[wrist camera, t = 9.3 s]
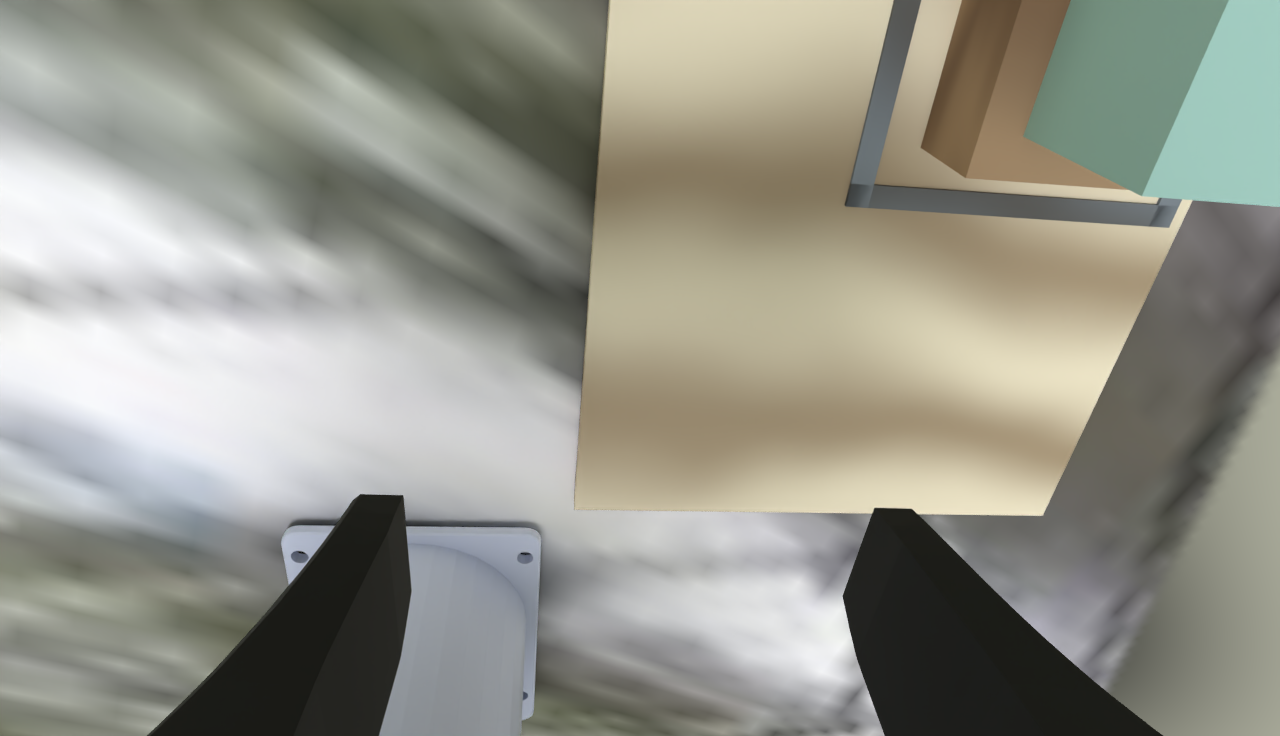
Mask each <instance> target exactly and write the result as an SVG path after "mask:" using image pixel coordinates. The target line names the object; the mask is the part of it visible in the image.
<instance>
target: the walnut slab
mask: <svg viewBox="0 0 1280 736" xmlns="http://www.w3.org/2000/svg"><path fill="white" fill-rule="evenodd" d="M1070 1H1071V0H962V2H961V5H960V9H959V13H958V16H957V20H956V23H955V27H954V30H953V34H952V37H951V41H950V45H949V48H948V52H947V55H946V59H945V62H944V66H943V69H942V73H941V77H940V80H939V84H938V87H937V91H936V94H935V98H934V102H933V105H932V109H931V112H930V116H929V119H928V123H927V126H926V130H925V134H924V137H923V141H922V144H921V148H922V149H923V150H925V151H926V152H927V153H929V154H930V155H932V156H933V157H935V158H936V159H938V160H939V161H941V162H942V163H944V164H945V165H947V166H948V167H950V168H951V169H953V170H954V171H956V172H957V173H959V174H960V175H962V176H963V177H964V178H969V179H983V180H997V181H1011V182H1024V183H1038V184H1052V185H1066V186H1080V187H1093V188H1107V189H1121V190H1128V189H1126V188H1124V187H1122V186H1120V185H1118V184H1116V183H1114V182H1112V181H1110V180H1108V179H1106V178H1104V177H1102V176H1100V175H1098V174H1096V173H1094V172H1092V171H1091V170H1089V169H1087V168H1085V167H1083V166H1081V165H1079V164H1077V163H1075V162H1073V161H1071V160H1069V159H1067V158H1065V157H1063V156H1061V155H1059V154H1057V153H1055V152H1053V151H1051V150H1049V149H1047V148H1045V147H1043V146H1041V145H1039V144H1037V143H1035V142H1033V141H1031V140H1029V139H1027V138H1025V137H1023V135H1024V132H1025V130H1026V127H1027V124H1028V121H1029V118H1030V115H1031V112H1032V110H1033V107H1034V104H1035V101H1036V98H1037V95H1038V92H1039V90H1040V87H1041V84H1042V81H1043V78H1044V75H1045V72H1046V70H1047V67H1048V64H1049V61H1050V58H1051V55H1052V52H1053V50H1054V47H1055V44H1056V41H1057V38H1058V35H1059V32H1060V30H1061V27H1062V24H1063V21H1064V18H1065V15H1066V12H1067V10H1068V7H1069V4H1070Z"/></svg>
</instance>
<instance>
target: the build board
mask: <svg viewBox="0 0 1280 736" xmlns="http://www.w3.org/2000/svg"><path fill="white" fill-rule="evenodd" d="M961 2H962V0H609V6H608V21H607V35H606V49H605V64H604V78H603V92H602V107H601V121H600V135H599V150H598V164H597V179H596V193H595V207H594V222H593V236H592V250H591V265H590V279H589V293H588V308H587V322H586V336H585V351H584V365H583V379H582V394H581V408H580V422H579V437H578V451H577V465H576V480H575V494H574V510H638V511H718V512H797V513H873V510H874V508H907V509H913V510H914V511H915V512H916V513H917V514H956V515H1036V516H1043V513H1044V511H1045V509H1046V507H1047V505H1048V503H1049V501H1050V499H1051V497H1052V495H1053V492H1054V490H1055V488H1056V486H1057V484H1058V482H1059V480H1060V478H1061V476H1062V474H1063V471H1064V469H1065V467H1066V465H1067V463H1068V461H1069V459H1070V457H1071V455H1072V453H1073V450H1074V448H1075V446H1076V444H1077V442H1078V440H1079V438H1080V436H1081V434H1082V432H1083V429H1084V427H1085V425H1086V423H1087V421H1088V419H1089V417H1090V415H1091V413H1092V411H1093V408H1094V406H1095V404H1096V402H1097V400H1098V398H1099V396H1100V394H1101V392H1102V390H1103V387H1104V385H1105V383H1106V381H1107V379H1108V377H1109V375H1110V373H1111V371H1112V369H1113V366H1114V364H1115V362H1116V360H1117V358H1118V356H1119V354H1120V352H1121V350H1122V347H1123V345H1124V343H1125V341H1126V339H1127V337H1128V335H1129V333H1130V331H1131V329H1132V326H1133V324H1134V322H1135V320H1136V318H1137V316H1138V314H1139V312H1140V310H1141V308H1142V305H1143V303H1144V301H1145V299H1146V297H1147V295H1148V293H1149V291H1150V289H1151V287H1152V284H1153V282H1154V280H1155V278H1156V276H1157V274H1158V272H1159V270H1160V268H1161V266H1162V263H1163V261H1164V259H1165V257H1166V255H1167V253H1168V251H1169V249H1170V247H1171V245H1172V242H1173V240H1174V238H1175V236H1176V234H1177V232H1178V230H1179V228H1180V226H1181V224H1182V221H1183V219H1184V217H1185V215H1186V213H1187V211H1188V209H1189V207H1190V205H1191V203H1192V200H1184V199H1171V198H1158V197H1145V196H1140V195H1138V194H1136V193H1134V192H1132V191H1130V190H1121V189H1107V188H1093V187H1080V186H1066V185H1052V184H1038V183H1024V182H1011V181H997V180H983V179H969V178H964V177H963V176H962V175H960V174H959V173H957V172H956V171H954V170H953V169H951V168H950V167H948V166H947V165H945V164H944V163H942V162H941V161H939V160H938V159H936V158H935V157H933V156H932V155H930V154H929V153H927V152H926V151H925V150H923V149H922V148H921V144H922V141H923V137H924V134H925V130H926V126H927V123H928V119H929V116H930V112H931V109H932V105H933V102H934V98H935V94H936V91H937V87H938V84H939V80H940V77H941V73H942V69H943V66H944V62H945V59H946V55H947V52H948V48H949V45H950V41H951V37H952V34H953V30H954V27H955V23H956V20H957V16H958V13H959V9H960V5H961Z"/></svg>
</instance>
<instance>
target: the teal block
mask: <svg viewBox="0 0 1280 736" xmlns="http://www.w3.org/2000/svg"><path fill="white" fill-rule="evenodd" d="M1023 137H1025V138H1027V139H1029V140H1031V141H1033V142H1035V143H1037V144H1039V145H1041V146H1043V147H1045V148H1047V149H1049V150H1051V151H1053V152H1055V153H1057V154H1059V155H1061V156H1063V157H1065V158H1067V159H1069V160H1071V161H1073V162H1075V163H1077V164H1079V165H1081V166H1083V167H1085V168H1087V169H1089V170H1091V171H1092V172H1094V173H1096V174H1098V175H1100V176H1102V177H1104V178H1106V179H1108V180H1110V181H1112V182H1114V183H1116V184H1118V185H1120V186H1122V187H1124V188H1126V189H1128V190H1130V191H1132V192H1134V193H1136V194H1138V195H1140V196H1145V197H1158V198H1171V199H1184V200H1197V201H1211V202H1224V203H1237V204H1250V205H1263V206H1276V207H1280V0H1071V1H1070V4H1069V7H1068V10H1067V12H1066V15H1065V18H1064V21H1063V24H1062V27H1061V30H1060V32H1059V35H1058V38H1057V41H1056V44H1055V47H1054V50H1053V52H1052V55H1051V58H1050V61H1049V64H1048V67H1047V70H1046V72H1045V75H1044V78H1043V81H1042V84H1041V87H1040V90H1039V92H1038V95H1037V98H1036V101H1035V104H1034V107H1033V110H1032V112H1031V115H1030V118H1029V121H1028V124H1027V127H1026V130H1025V132H1024V135H1023Z"/></svg>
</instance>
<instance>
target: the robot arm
mask: <svg viewBox="0 0 1280 736" xmlns="http://www.w3.org/2000/svg"><path fill="white" fill-rule="evenodd" d="M281 546H282V551H283V557H284V562H285V567H286V573H287V578H288V584H289V586H288V587H287V588H286V590H285V591H284V592H283V593H282V594H281V596H280V597H279V598H278V599H277V600H276V602H275V603H274V604H273V605H272V607H271V608H270V609H269V610H268V611H267V612H266V614H265V615H264V616H263V617H262V618H261V619H260V620H259V622H258V623H257V624H256V625H255V626H254V627H253V628H252V629H251V630H250V631H249V633H248V634H247V635H246V636H245V637H244V638H243V639H242V640H241V641H240V642H239V644H238V645H237V646H236V647H235V648H234V649H233V650H232V651H231V652H230V653H229V655H228V656H227V657H226V658H225V659H224V660H223V661H222V662H221V663H220V664H219V665H218V667H217V668H216V669H215V670H214V671H213V672H212V673H211V674H210V675H209V676H208V677H207V678H206V679H205V680H204V681H203V682H202V683H201V684H200V685H199V686H198V687H197V688H196V689H195V690H194V691H193V692H192V693H191V694H190V695H189V696H188V697H187V698H186V699H185V700H184V701H183V702H182V703H181V704H180V705H179V706H178V707H177V708H176V709H175V710H174V711H173V712H172V713H170V714H169V715H168V716H167V717H166V718H165V719H164V720H163V721H162V722H161V723H160V724H159V725H158V726H157V727H156V728H155V729H154V730H153V731H152V732H150V733H149V734H148V735H147V736H521V726H522V720H525V719H528V718H530V717H531V716H532V715H533V712H534V696H535V673H536V649H537V626H538V603H539V580H540V557H541V536H540V534H539V533H538V532H537V531H536V530H534V529H532V528H519V527H414V526H406V521H405V509H404V498H403V495H365V494H360V495H359V496H358V497H356V498H355V499H354V500H353V501H352V502H351V504H350V505H349V507H348V508H347V510H346V511H345V513H344V514H343V516H342V517H341V518H340V520H339V521H338V522H337V524H336V525H335V526H309V525H298V526H292V527H290V528H288V529H287V530H286V531H285V533H284V535H283V537H282V540H281ZM297 551H302V552H305V553H306V554H300V553H298V552H297ZM523 552H528V553H530V554H529V555H521V554H520V553H523ZM843 600H844V604H845V609H846V614H847V618H848V623H849V628H850V632H851V636H852V640H853V644H854V648H855V653H856V657H857V660H858V663H859V666H860V669H861V671H862V674H863V677H864V680H865V683H866V685H867V688H868V691H869V694H870V696H871V699H872V702H873V705H874V707H875V710H876V713H877V716H878V718H879V721H880V724H881V726H882V729H883V732H884V734H885V736H1163V735H1161V734H1160V733H1159V732H1157V731H1156V730H1155V729H1153V728H1152V727H1151V726H1149V725H1148V724H1147V723H1146V722H1144V721H1143V720H1142V719H1140V718H1139V717H1138V716H1137V715H1135V714H1134V713H1133V712H1132V711H1130V710H1129V709H1128V708H1127V707H1125V706H1124V705H1123V704H1121V703H1120V702H1119V701H1118V700H1116V699H1115V698H1114V697H1112V696H1111V695H1110V694H1109V693H1108V692H1106V691H1105V690H1104V689H1103V688H1101V687H1100V686H1099V685H1098V684H1097V683H1095V682H1094V681H1093V680H1092V679H1091V678H1089V677H1088V676H1087V675H1086V674H1085V673H1084V672H1082V671H1081V670H1080V669H1079V668H1078V667H1077V666H1076V665H1074V664H1073V663H1072V662H1071V661H1070V660H1069V659H1068V658H1066V657H1065V656H1064V655H1063V654H1062V653H1061V652H1060V651H1059V650H1057V649H1056V648H1055V647H1054V646H1053V645H1052V644H1051V643H1049V642H1048V641H1047V640H1046V639H1045V638H1044V637H1043V636H1042V635H1041V634H1040V633H1038V632H1037V631H1036V630H1035V629H1034V628H1033V627H1032V626H1031V625H1030V624H1029V623H1028V622H1027V621H1026V620H1024V619H1023V618H1022V617H1021V616H1020V615H1019V614H1018V613H1017V612H1016V611H1015V610H1014V609H1013V608H1012V607H1011V606H1010V605H1009V604H1008V603H1007V602H1006V601H1005V600H1004V599H1003V598H1001V597H1000V596H999V595H998V594H997V593H996V592H995V591H994V590H993V589H992V588H991V587H990V586H989V585H988V584H987V583H986V582H985V581H984V580H983V579H982V578H981V577H980V576H979V575H978V574H977V573H976V572H975V571H974V570H973V569H972V568H971V567H970V566H969V565H968V564H967V563H966V562H965V561H964V560H963V559H962V558H961V557H960V556H959V555H958V554H957V553H956V552H955V551H954V550H953V549H952V548H951V547H950V546H949V545H948V544H947V543H946V542H945V541H944V540H943V539H942V538H941V537H940V536H939V535H938V534H937V533H936V532H935V531H934V530H933V529H932V528H931V527H930V526H929V525H928V524H927V523H926V522H925V521H924V520H923V519H922V518H921V517H920V516H919V515H918V514H917V513H916V512H915V511H914V510H913V509H907V508H874V510H873V513H872V516H871V519H870V522H869V524H868V527H867V530H866V533H865V535H864V538H863V541H862V544H861V547H860V549H859V552H858V555H857V558H856V560H855V563H854V566H853V569H852V572H851V574H850V577H849V580H848V583H847V585H846V588H845V591H844V594H843Z"/></svg>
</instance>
